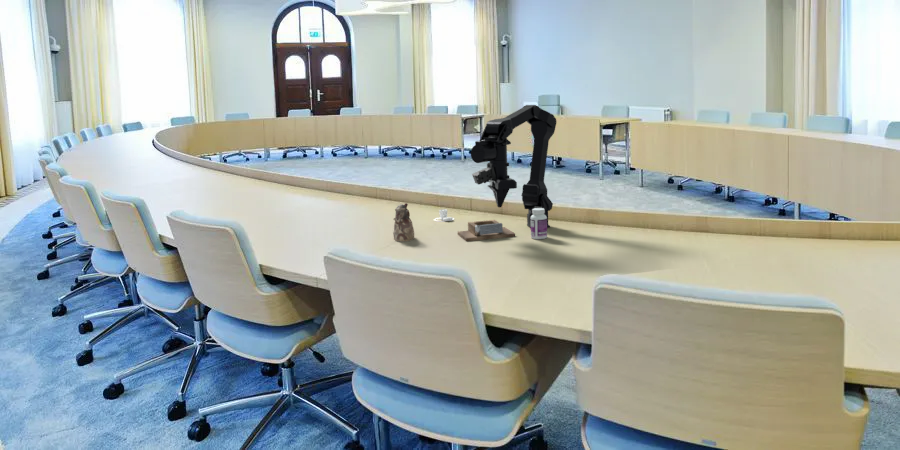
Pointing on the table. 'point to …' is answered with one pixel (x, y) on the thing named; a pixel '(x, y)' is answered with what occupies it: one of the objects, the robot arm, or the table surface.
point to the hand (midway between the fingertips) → (499, 207)
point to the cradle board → (471, 235)
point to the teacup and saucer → (444, 216)
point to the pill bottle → (538, 224)
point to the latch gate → (488, 229)
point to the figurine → (403, 224)
